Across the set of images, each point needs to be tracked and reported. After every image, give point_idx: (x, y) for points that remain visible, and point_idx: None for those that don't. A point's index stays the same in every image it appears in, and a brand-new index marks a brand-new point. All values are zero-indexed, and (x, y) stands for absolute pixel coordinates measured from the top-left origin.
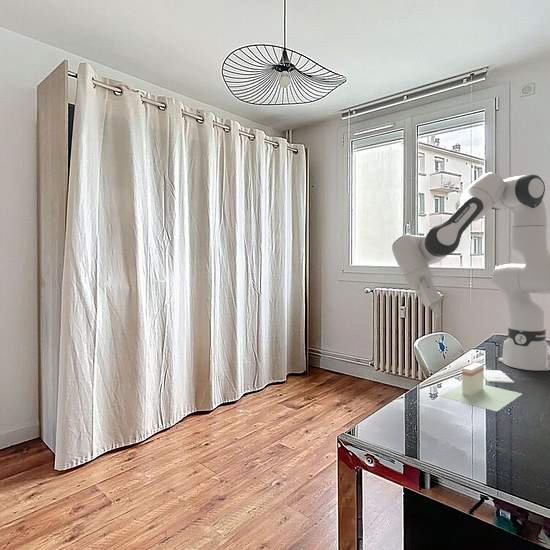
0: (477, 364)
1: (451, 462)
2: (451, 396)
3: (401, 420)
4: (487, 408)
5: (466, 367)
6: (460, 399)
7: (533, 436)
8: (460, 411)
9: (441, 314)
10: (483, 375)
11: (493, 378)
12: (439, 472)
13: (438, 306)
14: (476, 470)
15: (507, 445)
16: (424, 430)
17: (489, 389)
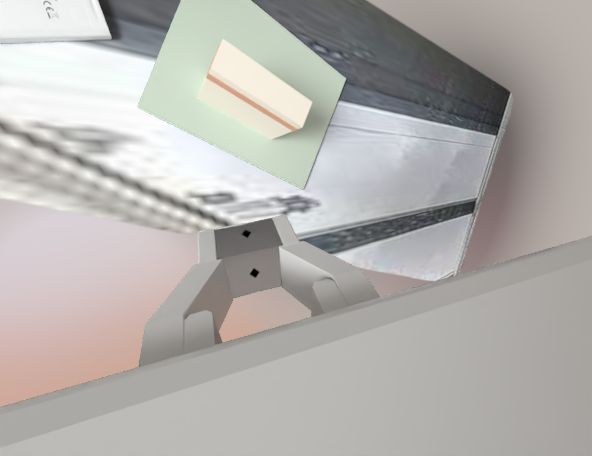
0: (236, 65)
1: (475, 166)
2: (298, 165)
3: (410, 236)
4: (337, 95)
5: (289, 113)
6: (308, 146)
7: (409, 45)
8: (357, 149)
9: (284, 217)
10: (28, 33)
11: (61, 1)
12: (489, 177)
13: (339, 261)
14: (482, 142)
15: (437, 94)
16: (427, 201)
17: (201, 56)
